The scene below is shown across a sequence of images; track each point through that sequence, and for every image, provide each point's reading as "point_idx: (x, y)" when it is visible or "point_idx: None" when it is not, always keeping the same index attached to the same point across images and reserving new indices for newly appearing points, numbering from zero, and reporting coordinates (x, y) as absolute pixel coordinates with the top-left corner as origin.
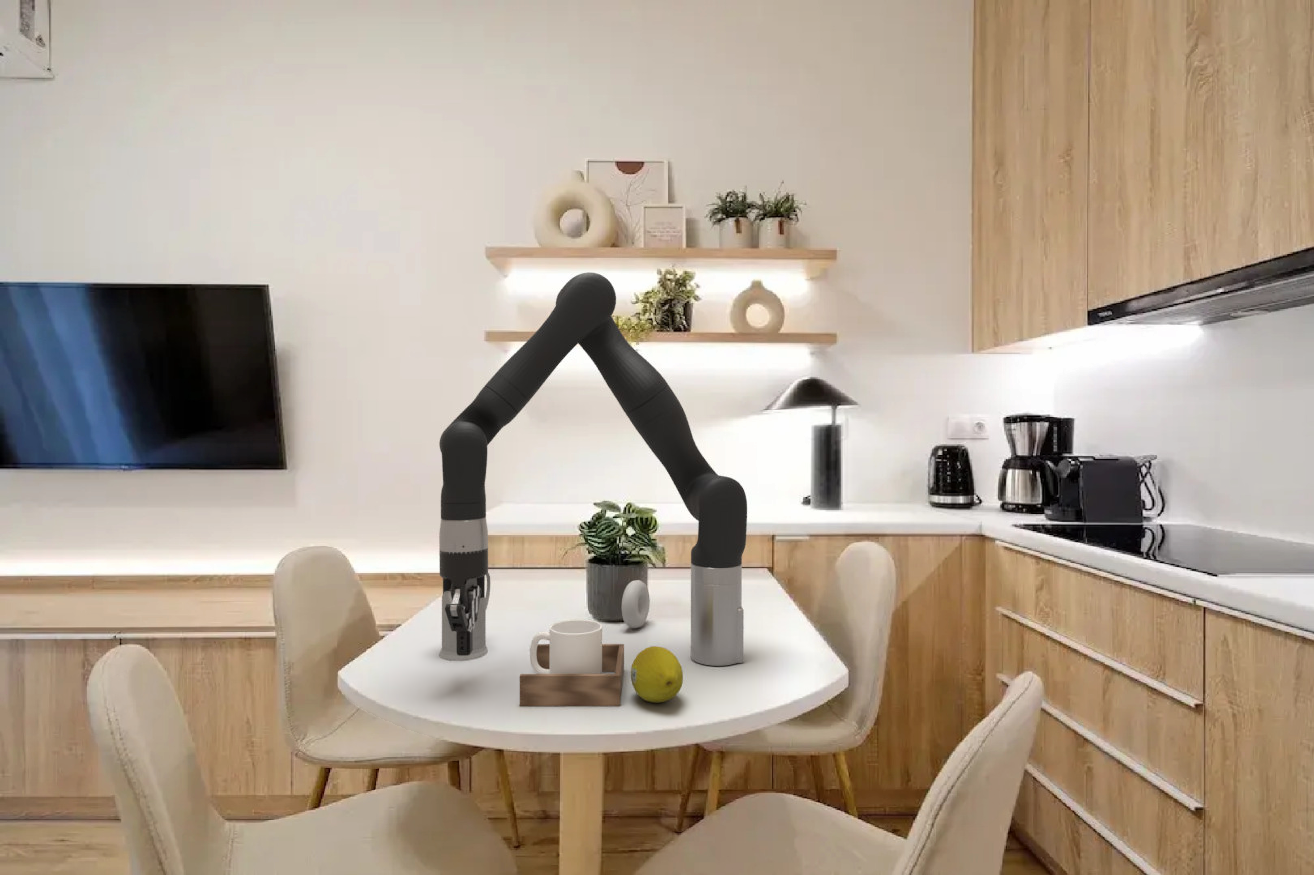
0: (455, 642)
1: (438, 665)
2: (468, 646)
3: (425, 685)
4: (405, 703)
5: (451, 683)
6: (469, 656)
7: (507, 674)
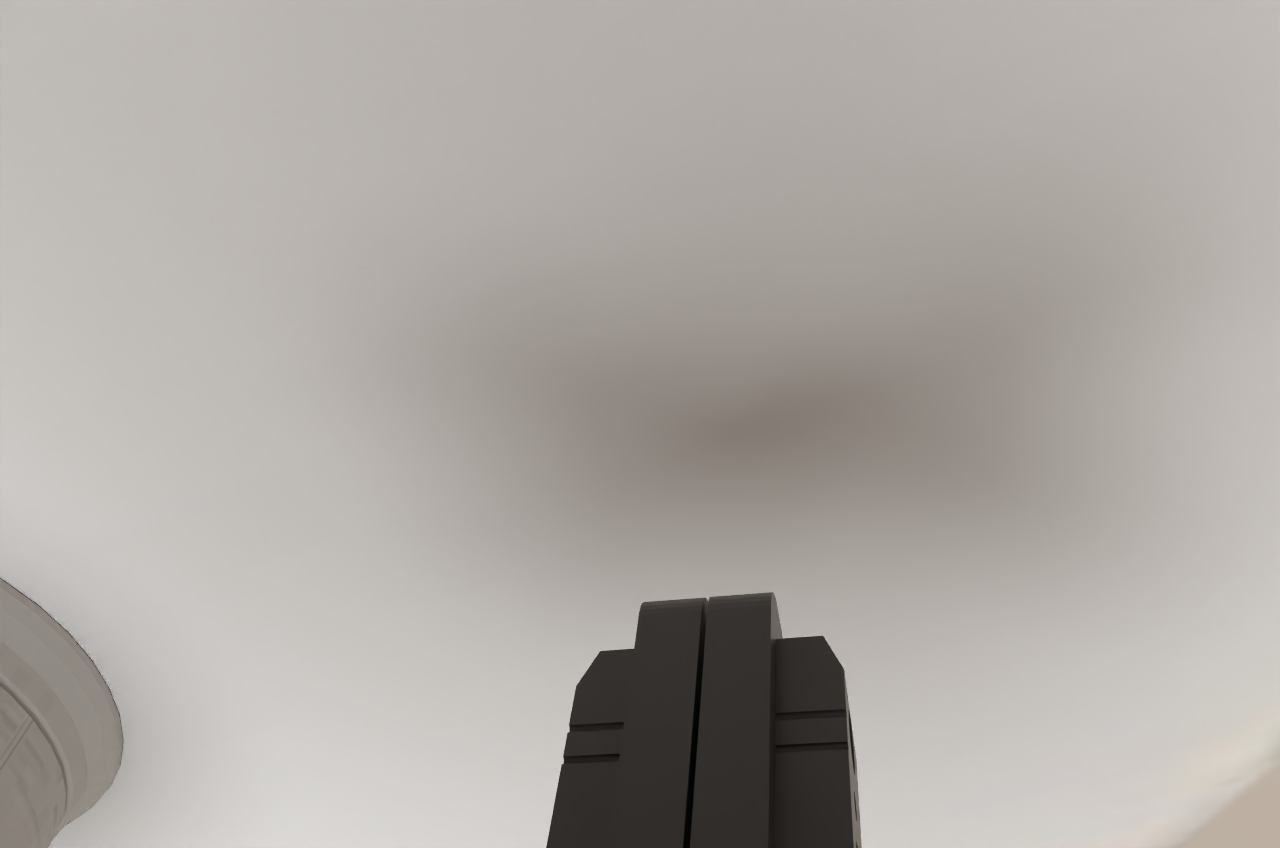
0: (6, 829)
1: (268, 760)
2: (775, 692)
3: None
4: (1176, 701)
5: (656, 539)
6: (5, 621)
7: (243, 92)
